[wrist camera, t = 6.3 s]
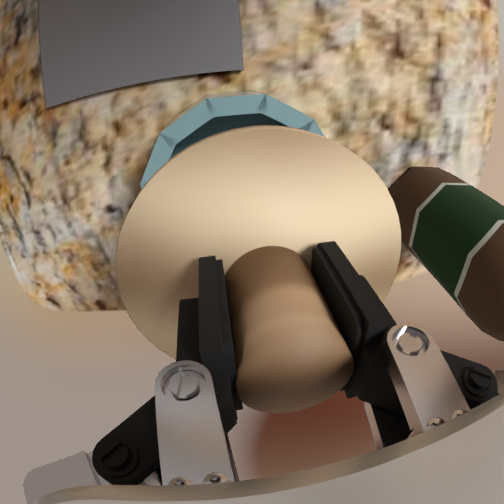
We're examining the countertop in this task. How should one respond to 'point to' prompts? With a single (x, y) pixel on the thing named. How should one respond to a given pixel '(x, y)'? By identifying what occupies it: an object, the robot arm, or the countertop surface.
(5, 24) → the countertop surface
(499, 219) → the beer bottle
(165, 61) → the mat
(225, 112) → the bowl
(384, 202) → the lid
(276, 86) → the countertop surface
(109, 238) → the countertop surface
